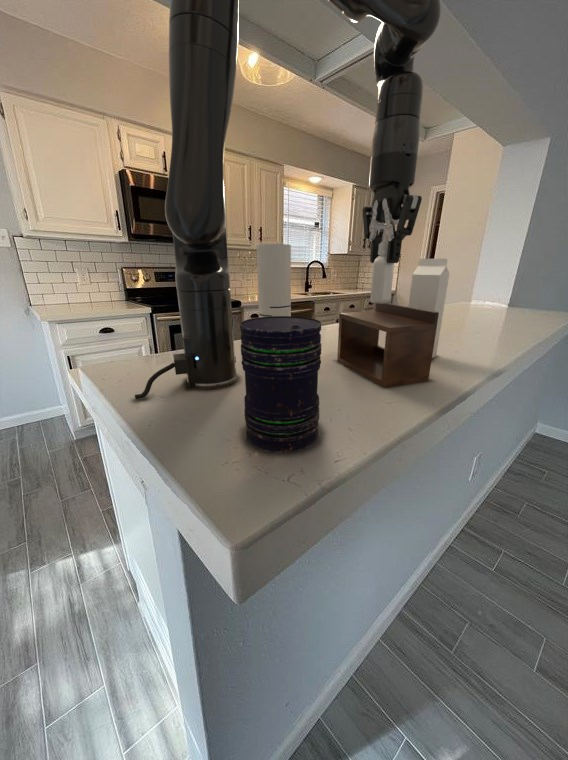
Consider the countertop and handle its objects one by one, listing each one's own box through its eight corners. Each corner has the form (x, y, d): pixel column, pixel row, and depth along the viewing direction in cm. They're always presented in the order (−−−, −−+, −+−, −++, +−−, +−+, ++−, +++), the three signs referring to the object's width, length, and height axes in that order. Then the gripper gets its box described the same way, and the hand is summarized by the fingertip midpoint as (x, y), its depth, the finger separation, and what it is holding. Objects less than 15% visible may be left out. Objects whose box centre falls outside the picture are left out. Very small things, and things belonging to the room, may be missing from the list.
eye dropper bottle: (399, 302, 62) (406, 234, 58) (377, 304, 60) (383, 233, 56) (383, 300, 66) (389, 236, 62) (361, 302, 64) (366, 235, 60)
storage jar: (232, 428, 45) (224, 321, 40) (289, 410, 50) (289, 313, 45) (271, 463, 37) (268, 335, 32) (334, 437, 42) (340, 324, 37)
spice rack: (384, 387, 59) (392, 315, 54) (337, 360, 75) (339, 303, 70) (428, 380, 62) (439, 312, 57) (373, 356, 78) (378, 301, 73)
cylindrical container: (290, 364, 72) (290, 244, 64) (259, 364, 73) (254, 244, 64) (290, 355, 79) (290, 245, 70) (261, 355, 79) (258, 245, 71)
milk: (427, 361, 73) (443, 258, 66) (401, 356, 77) (413, 258, 69) (436, 356, 78) (452, 258, 70) (411, 351, 81) (424, 258, 74)
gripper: (352, 165, 60) (346, 263, 66) (403, 139, 47) (391, 263, 53) (386, 168, 62) (378, 262, 68) (443, 144, 49) (427, 262, 55)
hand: (383, 262), depth 60 cm, fingers closed on eye dropper bottle, 4 cm apart
